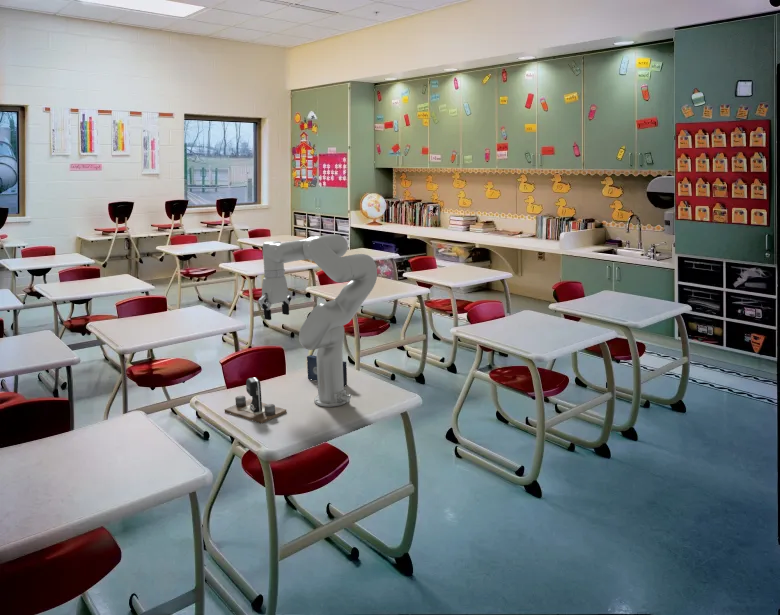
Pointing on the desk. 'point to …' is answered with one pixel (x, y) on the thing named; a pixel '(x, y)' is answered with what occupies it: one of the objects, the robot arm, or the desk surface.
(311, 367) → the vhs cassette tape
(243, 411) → the collar board
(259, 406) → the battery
